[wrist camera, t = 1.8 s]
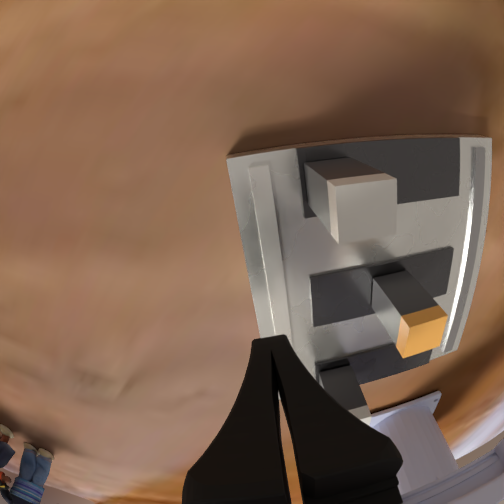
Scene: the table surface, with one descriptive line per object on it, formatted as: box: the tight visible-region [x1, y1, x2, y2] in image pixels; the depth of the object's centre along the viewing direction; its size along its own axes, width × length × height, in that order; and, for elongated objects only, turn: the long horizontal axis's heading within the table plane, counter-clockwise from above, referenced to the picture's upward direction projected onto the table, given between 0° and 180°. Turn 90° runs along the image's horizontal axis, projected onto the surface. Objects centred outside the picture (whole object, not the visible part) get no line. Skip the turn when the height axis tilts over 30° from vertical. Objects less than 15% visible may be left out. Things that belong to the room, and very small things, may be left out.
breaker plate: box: [226, 134, 492, 400], centre depth 16 cm, size 15×14×1 cm
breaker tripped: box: [372, 270, 448, 358], centre depth 13 cm, size 2×2×4 cm
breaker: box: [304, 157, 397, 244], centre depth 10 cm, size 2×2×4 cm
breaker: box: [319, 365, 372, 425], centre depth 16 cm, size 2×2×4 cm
